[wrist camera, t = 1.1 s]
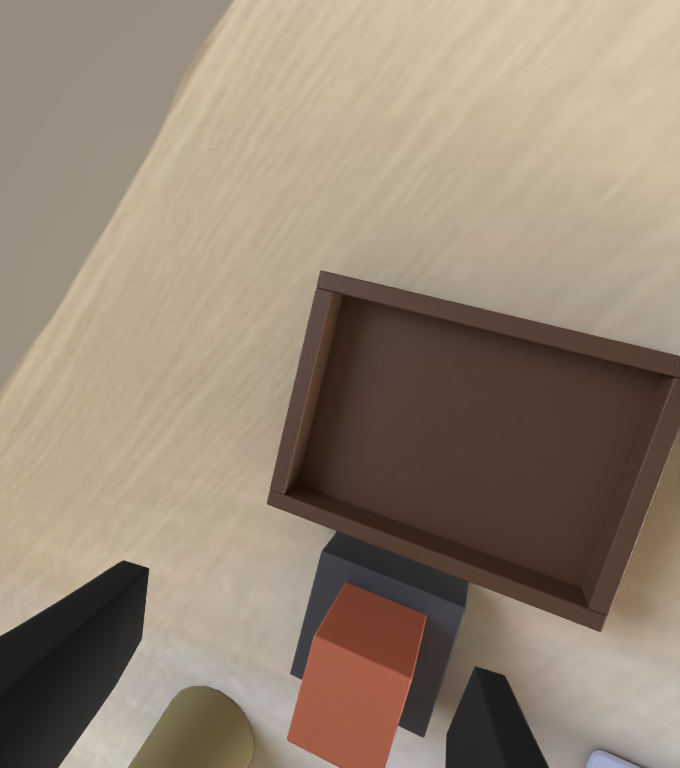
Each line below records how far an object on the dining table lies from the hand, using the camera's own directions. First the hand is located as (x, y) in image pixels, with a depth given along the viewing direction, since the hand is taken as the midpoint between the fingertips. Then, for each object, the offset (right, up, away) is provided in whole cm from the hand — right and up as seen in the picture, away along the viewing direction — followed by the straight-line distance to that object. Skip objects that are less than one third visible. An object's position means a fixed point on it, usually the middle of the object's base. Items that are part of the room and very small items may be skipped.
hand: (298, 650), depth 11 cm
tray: (+7, +3, +13) cm, 15 cm away
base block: (+3, -6, +15) cm, 17 cm away
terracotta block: (+2, -7, +13) cm, 15 cm away
